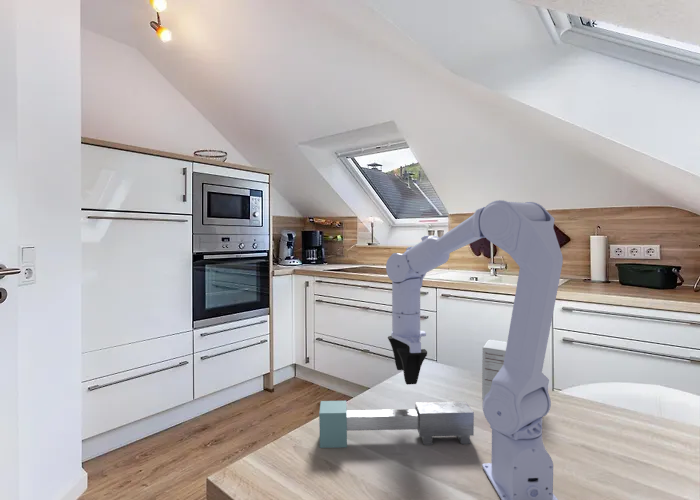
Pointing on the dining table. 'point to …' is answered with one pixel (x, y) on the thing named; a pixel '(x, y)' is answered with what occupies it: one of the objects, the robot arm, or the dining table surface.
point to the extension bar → (382, 419)
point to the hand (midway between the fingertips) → (406, 376)
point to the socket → (333, 424)
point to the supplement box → (492, 362)
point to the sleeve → (445, 420)
